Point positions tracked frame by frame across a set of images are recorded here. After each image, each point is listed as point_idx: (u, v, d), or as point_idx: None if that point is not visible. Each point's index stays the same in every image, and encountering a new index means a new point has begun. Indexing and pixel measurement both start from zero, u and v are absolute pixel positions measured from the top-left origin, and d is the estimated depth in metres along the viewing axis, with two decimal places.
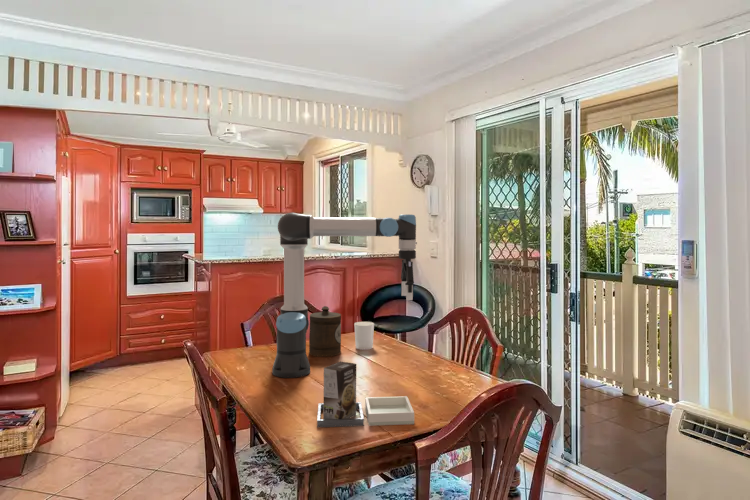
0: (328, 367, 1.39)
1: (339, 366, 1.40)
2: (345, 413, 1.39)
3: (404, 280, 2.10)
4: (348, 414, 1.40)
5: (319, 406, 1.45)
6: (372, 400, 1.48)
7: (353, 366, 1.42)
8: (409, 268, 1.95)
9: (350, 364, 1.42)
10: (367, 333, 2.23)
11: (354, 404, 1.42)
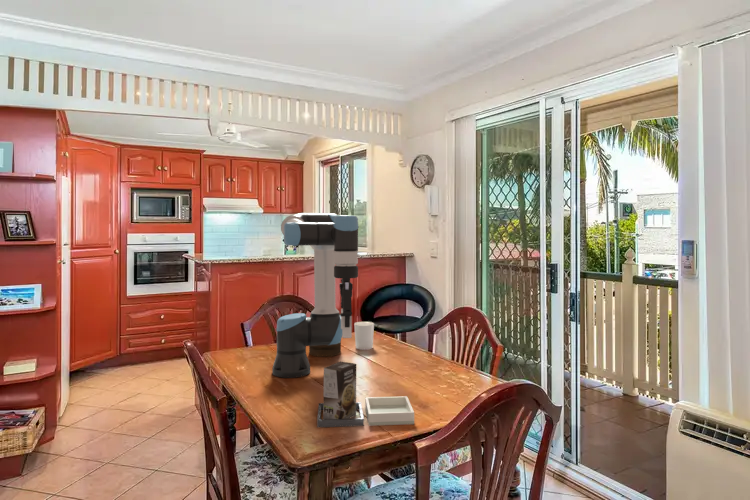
0: (328, 367, 1.39)
1: (339, 366, 1.40)
2: (345, 413, 1.39)
3: None
4: (348, 414, 1.40)
5: (319, 406, 1.45)
6: (372, 400, 1.48)
7: (353, 366, 1.42)
8: (346, 292, 1.36)
9: (350, 364, 1.42)
10: (367, 333, 2.23)
11: (354, 404, 1.42)
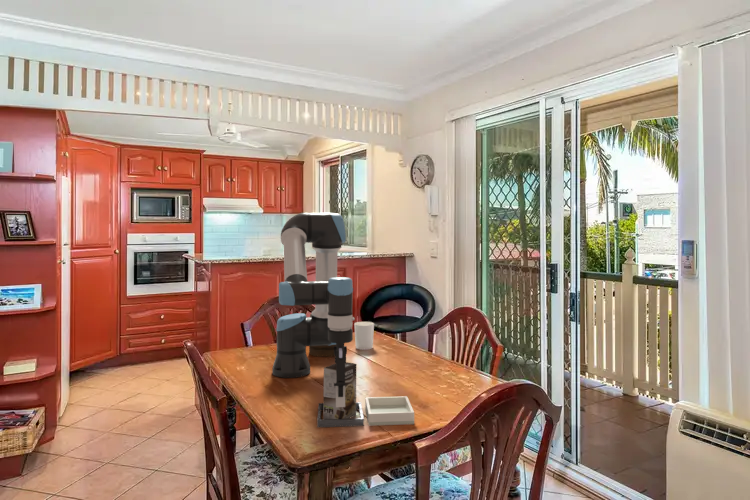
0: (328, 367, 1.39)
1: None
2: (345, 413, 1.38)
3: None
4: (348, 414, 1.40)
5: (319, 406, 1.45)
6: (372, 400, 1.48)
7: (353, 366, 1.42)
8: (340, 361, 1.34)
9: (350, 364, 1.42)
10: (367, 333, 2.23)
11: (354, 404, 1.42)
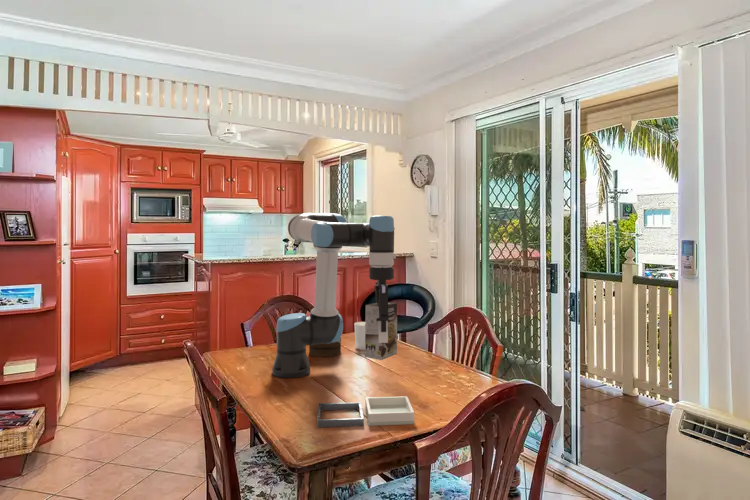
0: (370, 304, 1.39)
1: None
2: (387, 350, 1.39)
3: None
4: (390, 352, 1.40)
5: (319, 406, 1.45)
6: (372, 400, 1.48)
7: (394, 305, 1.42)
8: (383, 296, 1.34)
9: (391, 303, 1.42)
10: None
11: (395, 343, 1.42)
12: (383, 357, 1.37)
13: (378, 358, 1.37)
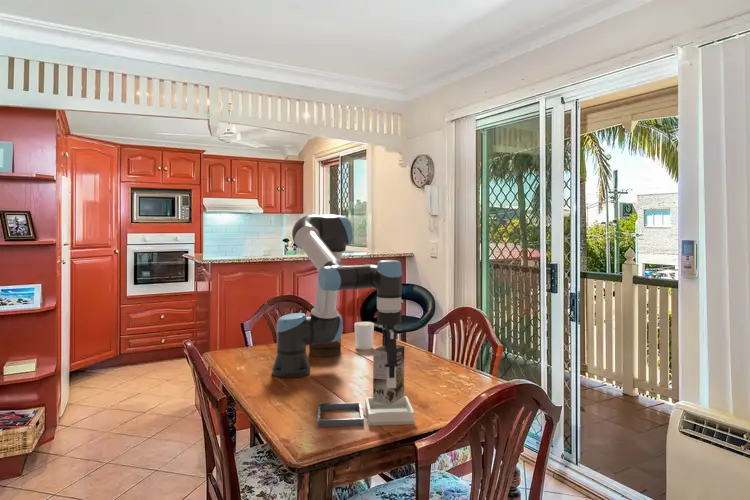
0: (378, 349, 1.40)
1: None
2: (395, 394, 1.40)
3: None
4: (397, 395, 1.41)
5: (319, 406, 1.45)
6: (372, 400, 1.48)
7: (402, 348, 1.43)
8: (391, 342, 1.35)
9: (398, 346, 1.43)
10: (367, 333, 2.23)
11: (402, 386, 1.43)
12: (391, 402, 1.38)
13: (386, 403, 1.38)
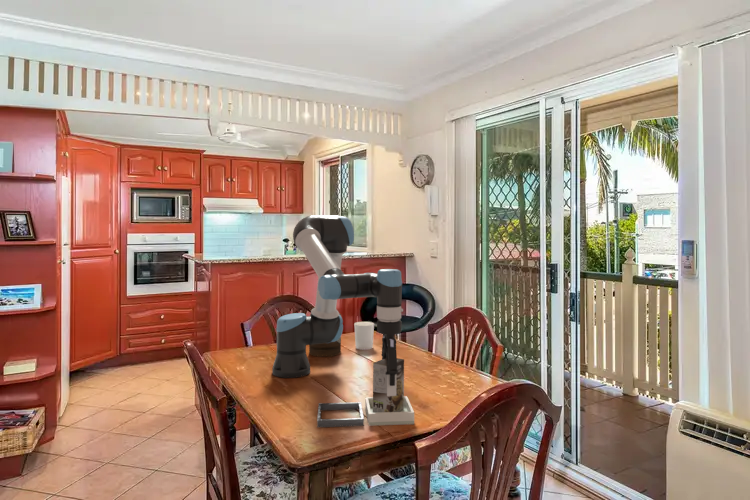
0: (377, 362, 1.41)
1: None
2: (395, 408, 1.40)
3: None
4: (397, 409, 1.41)
5: (319, 406, 1.45)
6: (372, 400, 1.48)
7: (401, 361, 1.43)
8: (391, 350, 1.35)
9: (398, 359, 1.44)
10: (367, 333, 2.23)
11: (402, 399, 1.44)
12: None
13: None
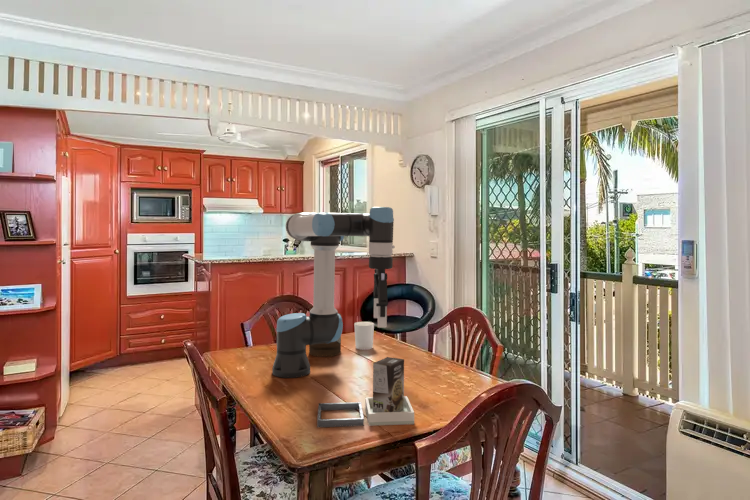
0: (377, 362, 1.41)
1: (388, 361, 1.41)
2: (395, 408, 1.40)
3: (377, 297, 1.54)
4: (397, 409, 1.41)
5: (319, 406, 1.45)
6: (372, 400, 1.48)
7: (401, 361, 1.43)
8: (382, 283, 1.39)
9: (398, 359, 1.44)
10: (367, 333, 2.23)
11: (402, 399, 1.44)
12: None
13: None
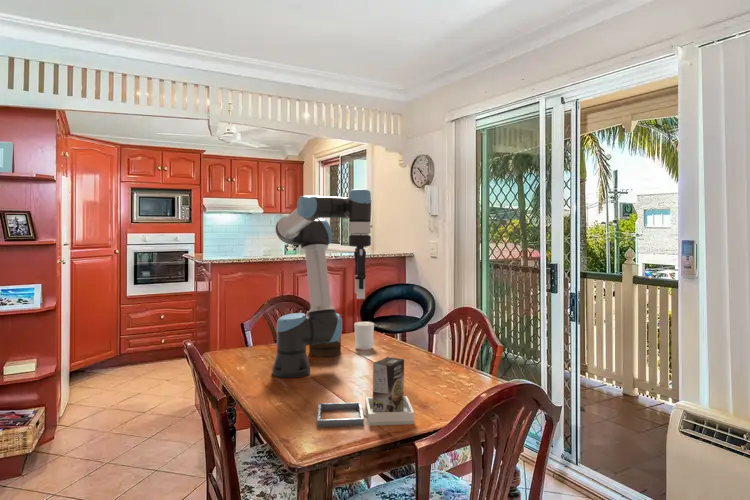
0: (377, 362, 1.41)
1: (388, 361, 1.41)
2: (395, 408, 1.40)
3: None
4: (397, 409, 1.41)
5: (319, 406, 1.45)
6: (372, 400, 1.48)
7: (401, 361, 1.43)
8: (360, 258, 1.52)
9: (398, 359, 1.44)
10: (367, 333, 2.23)
11: (402, 399, 1.44)
12: None
13: None
